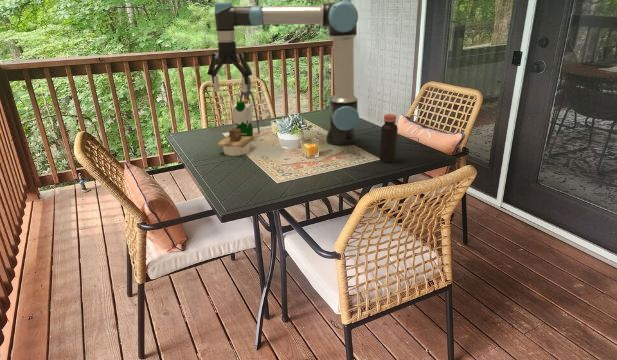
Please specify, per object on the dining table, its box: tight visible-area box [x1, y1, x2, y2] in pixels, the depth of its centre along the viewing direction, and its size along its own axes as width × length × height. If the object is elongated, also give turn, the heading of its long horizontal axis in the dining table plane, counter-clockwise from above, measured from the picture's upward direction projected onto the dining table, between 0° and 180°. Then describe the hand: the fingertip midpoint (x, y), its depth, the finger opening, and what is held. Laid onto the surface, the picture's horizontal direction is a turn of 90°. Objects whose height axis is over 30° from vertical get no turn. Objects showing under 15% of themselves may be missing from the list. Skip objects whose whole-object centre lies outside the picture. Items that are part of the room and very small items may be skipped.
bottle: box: [379, 113, 399, 163], centre depth 179 cm, size 7×7×20 cm
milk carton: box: [232, 100, 254, 137], centre depth 210 cm, size 9×9×20 cm
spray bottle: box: [239, 76, 261, 135], centre depth 222 cm, size 10×11×30 cm
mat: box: [248, 144, 288, 158], centre depth 196 cm, size 15×15×1 cm
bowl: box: [222, 143, 251, 157], centre depth 195 cm, size 12×12×5 cm
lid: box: [216, 128, 255, 147], centre depth 193 cm, size 13×13×6 cm
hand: (231, 91), depth 185 cm, fingers open, 13 cm apart
